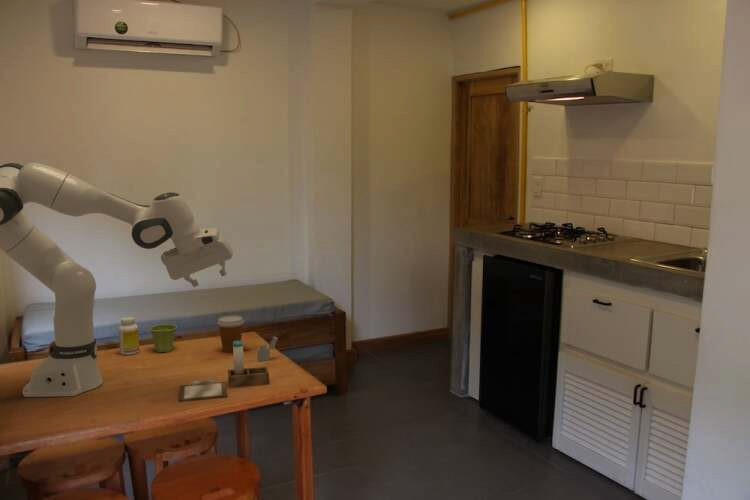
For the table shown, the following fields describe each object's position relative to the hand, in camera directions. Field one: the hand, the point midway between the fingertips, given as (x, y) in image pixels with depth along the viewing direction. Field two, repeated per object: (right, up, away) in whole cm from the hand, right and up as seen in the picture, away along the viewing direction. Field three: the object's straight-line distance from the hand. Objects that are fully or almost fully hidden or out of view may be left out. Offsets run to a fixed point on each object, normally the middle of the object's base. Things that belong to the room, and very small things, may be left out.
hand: (210, 280), depth 197 cm
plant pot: (-27, -28, +38) cm, 54 cm away
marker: (+8, -33, +5) cm, 34 cm away
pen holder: (+11, -33, +6) cm, 35 cm away
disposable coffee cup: (-2, -28, +38) cm, 47 cm away
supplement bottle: (-38, -28, +35) cm, 59 cm away
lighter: (+13, -30, +28) cm, 43 cm away
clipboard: (-2, -34, -2) cm, 34 cm away
